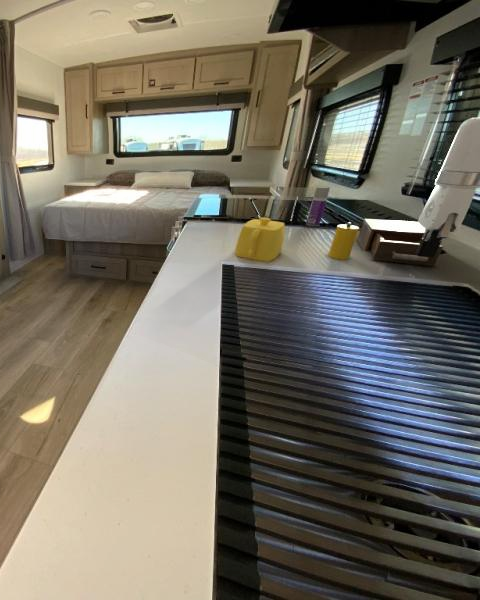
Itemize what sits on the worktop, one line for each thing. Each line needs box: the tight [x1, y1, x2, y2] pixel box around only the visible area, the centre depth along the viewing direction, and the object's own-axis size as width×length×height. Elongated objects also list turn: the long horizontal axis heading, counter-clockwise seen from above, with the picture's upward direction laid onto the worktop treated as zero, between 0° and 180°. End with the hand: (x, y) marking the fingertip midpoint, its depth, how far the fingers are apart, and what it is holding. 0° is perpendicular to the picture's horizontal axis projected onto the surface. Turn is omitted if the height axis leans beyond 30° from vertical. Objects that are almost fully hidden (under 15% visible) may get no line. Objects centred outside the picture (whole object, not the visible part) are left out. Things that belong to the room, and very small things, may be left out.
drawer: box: [369, 232, 444, 267], centre depth 98 cm, size 18×13×6 cm
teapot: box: [235, 217, 285, 263], centre depth 107 cm, size 20×12×12 cm, turn 138°
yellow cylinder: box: [327, 221, 360, 260], centre depth 100 cm, size 5×5×11 cm
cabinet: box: [356, 218, 426, 252], centre depth 107 cm, size 15×15×8 cm
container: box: [305, 185, 331, 227], centre depth 134 cm, size 5×5×15 cm
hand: (424, 255), depth 83 cm, fingers closed
